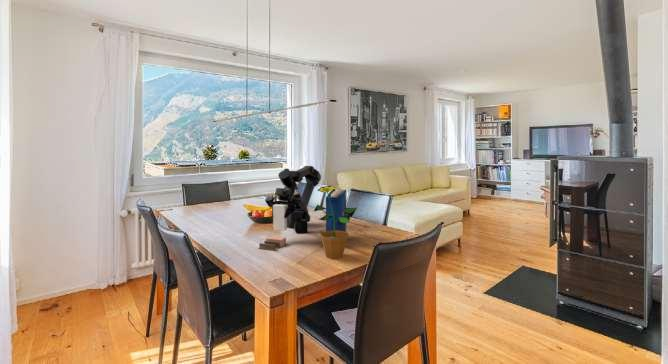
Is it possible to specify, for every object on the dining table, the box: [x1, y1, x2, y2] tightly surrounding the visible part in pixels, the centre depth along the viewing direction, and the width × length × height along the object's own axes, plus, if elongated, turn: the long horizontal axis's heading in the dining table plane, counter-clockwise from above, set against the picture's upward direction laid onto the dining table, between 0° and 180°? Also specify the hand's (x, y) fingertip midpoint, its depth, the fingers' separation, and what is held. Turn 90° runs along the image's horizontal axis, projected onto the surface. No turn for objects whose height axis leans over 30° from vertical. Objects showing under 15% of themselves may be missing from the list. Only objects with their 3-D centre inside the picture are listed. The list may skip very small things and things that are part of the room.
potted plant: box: [313, 185, 358, 260], centre depth 148 cm, size 18×19×30 cm
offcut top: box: [265, 235, 287, 243], centre depth 164 cm, size 5×8×2 cm, turn 70°
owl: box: [287, 191, 302, 230], centre depth 203 cm, size 13×13×20 cm
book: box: [325, 188, 347, 232], centre depth 172 cm, size 22×7×25 cm, turn 168°
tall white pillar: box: [272, 204, 288, 232], centre depth 167 cm, size 2×6×12 cm, turn 70°
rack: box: [257, 240, 288, 252], centre depth 161 cm, size 12×9×3 cm
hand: (278, 217), depth 165 cm, fingers closed on tall white pillar, 6 cm apart
